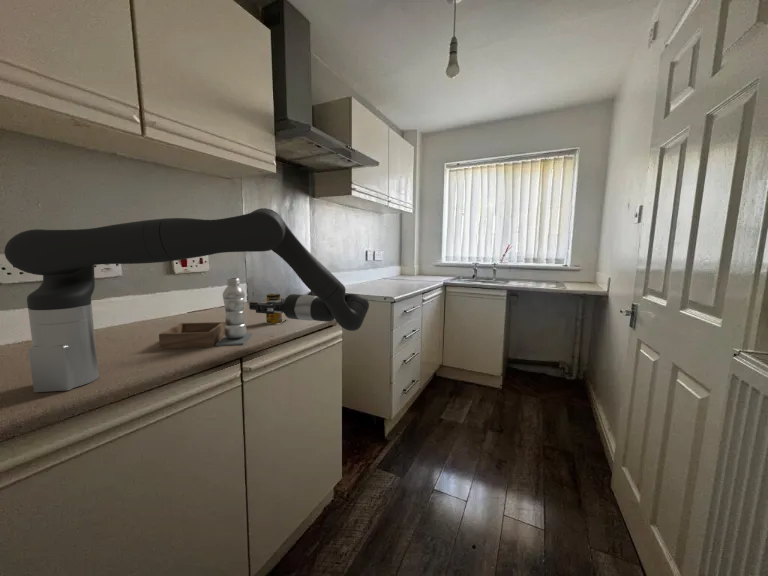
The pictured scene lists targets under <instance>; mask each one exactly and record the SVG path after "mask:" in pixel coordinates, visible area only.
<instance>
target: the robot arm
mask: <svg viewBox="0 0 768 576" xmlns="http://www.w3.org/2000/svg"><path fill="white" fill-rule="evenodd" d="M3 251H4V256H5V259H6V260H7V262H9V264H11V266H13V267H14V268H16V269H18V270H19V271H22V272H25V273H27V274H32V275H35V276H42V282H41V283H40V286H39V287H37V289H35V290H34V291H32V292H30V293H29V294H28V295H27V296H26V297H27V298H26V304H27V311H28V319H29V327H30V336H31V344H32V345H31V346H30V347H29V348H28V356H29V365H30V372H31V379H32V387H33V393H45V392H46V393H47V392H48V393H50V392H64V391H70V390H72V389H75V388H77V387H81V386H84V385H86V384H87V385H88V384H90V383H92V382H94V381H96V380H97V379H98V378H99V376H100V375H99V365H98V355H97V347H96V346H97V345H96V338H95V337H96V334H95V329H94V328H95V326H94V317H93V316H94V314H93V306H92V297H93V296H92V295H93V294H94V291H95V288H96V287H95V285H96V284H95V283H96V281H95V280H96V279H95V266H98V265H132V264H133V265H134V264H135V265H137V264H155V263H156V264H157V263H158V264H159V263H164V262H167V263H168V262H173V261H182V260H187V259H188V260H189V259H194V258H201V257H205V256H210V255H216V254H223V253H249V252H250V253H251V252H258V253H259V252H260V253H261V252H269V251H272V252H273V253H275V254H277V255H278V256H279V257H280V258H281V259H282V260H283V261H284V262H285V263H286V264H287V265H288V266H289V267H290V268H291V269H292V270H293V272H294V273H295V274H296V276H297V277H298V279H300V281H302V283H303V284H304V285H305V286H306V287H307V289H308V290H310V291H311V293H312V294H314V295H309V294H297V293H291V294H289V295H288V296H287V297H280V299H277V298H270V299H269V301H267V300H266V301H267V302H266V301H265V302H255V301H251V302H249V303H248V307H249V310H251V311H252V310H253V311H255V313H256V314H265V315H266V314H274V312H277V313H282V314H284V315H285V317H286V318H287V319H291V320H298V321H299V320H300V321H308V322H309V321H310V322H311V321H316V322H325V323H326V322H327V323H328V322H329V323H330V322H333V321H334V320H335V321H336V323H337V324H338V325H339V326H340V327H341V328H342V329H344V330H347V331H351V332H354V331H355V332H356V331H358V330H359V329H360V328H361V327H362V325H363V323H364V320H365V318H366V315H367V313H368V311H369V308H370V303H369V301H368V299H367V298H366V297H365V296H363V295H362V294H359V293H358V294H357V293H346V287H345V286H344V284H343V283H342V282H341V281H340V280H339V279H338V278H337V277H336V276H335V275H334V274H333V273H332V272H331V271H330V270H329V269H328V268H326V266H325V265H323V263H321V262H320V261H319V260H318V259H317V258H316V257H315V256H314V255H313V254H312V253H311V252H310V251H309V250H308V249H307V248H306V247H305V246H304V245H303V244H302V243H301V241H300V240H299V239H298V238H297V236H296V235H295V234H294V233H293V232H292V230H291V229H290V228H289V226H288V225H287V223H286V222H285V220H284V219H283V217H282V216H281V214H280V213H278V212H277V211H275V210H273V209H270V208H258V209H255V210H253V211H251V212H249V213H245V214H241V215H236V216H230V217H224V218H217V219H201V218H186V217H168V218H167V217H166V218H155V219H147V220H139V221H131V222H123V223H117V224H111V225H110V224H109V225H105V226H104V225H103V226H99V227H93V228H92V227H91V228H82V229H80V228H79V229H39V228H36V229H27V230H24V231H22V232H19V233H17V234H15V235H14V236H12V237H11V238H10V239H9V240H8V241H7V242H6V245H5V246H4V250H3Z"/></svg>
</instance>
